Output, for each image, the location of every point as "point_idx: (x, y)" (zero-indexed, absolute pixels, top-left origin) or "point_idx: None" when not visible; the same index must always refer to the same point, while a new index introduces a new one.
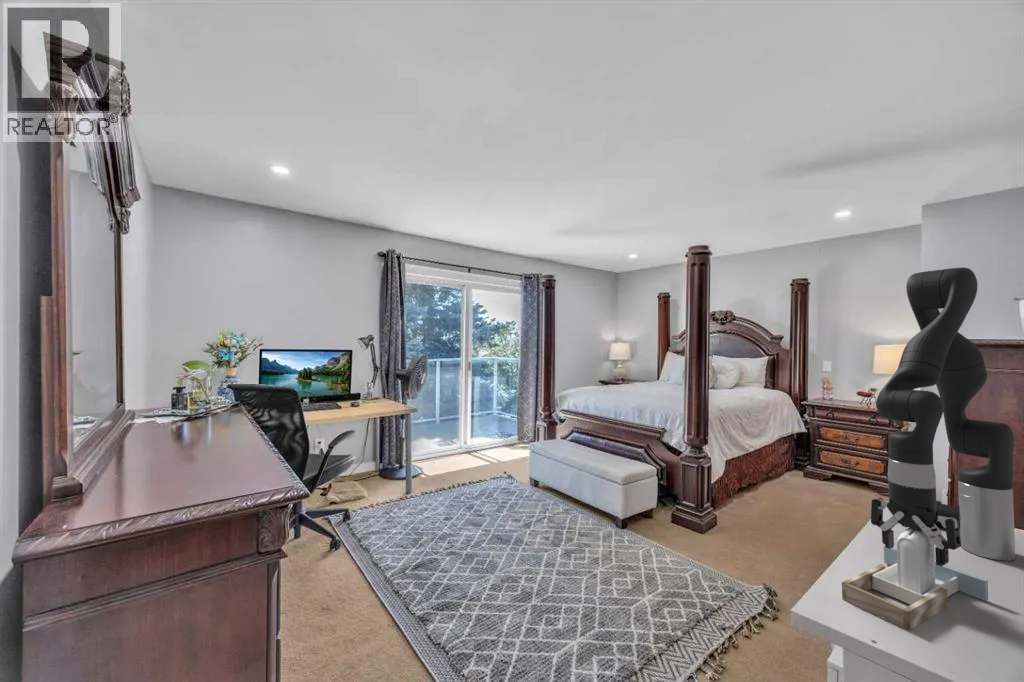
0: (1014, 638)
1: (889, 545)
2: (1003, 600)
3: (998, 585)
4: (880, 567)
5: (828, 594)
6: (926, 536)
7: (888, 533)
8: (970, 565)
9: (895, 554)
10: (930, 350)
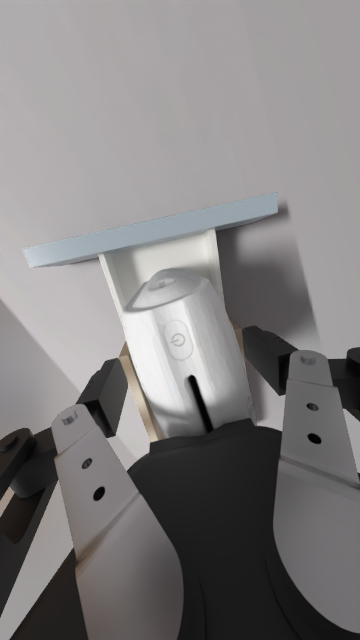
0: (312, 310)
1: (125, 388)
2: (258, 164)
3: (217, 58)
4: (132, 372)
5: (147, 450)
6: (248, 398)
7: (115, 432)
8: None
9: (71, 260)
10: None
